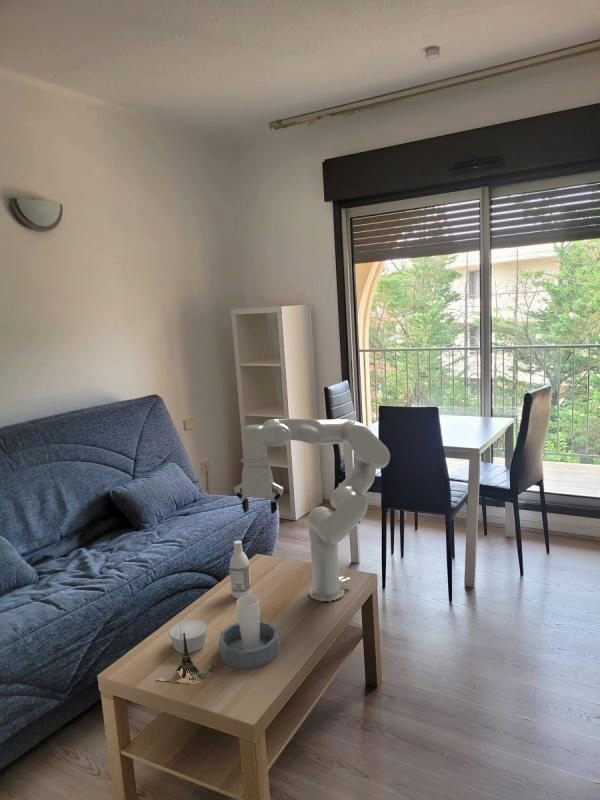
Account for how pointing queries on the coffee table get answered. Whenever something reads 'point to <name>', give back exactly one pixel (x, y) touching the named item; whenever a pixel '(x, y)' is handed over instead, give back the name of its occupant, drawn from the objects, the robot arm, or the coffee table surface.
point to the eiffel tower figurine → (191, 665)
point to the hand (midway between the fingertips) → (260, 511)
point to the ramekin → (188, 635)
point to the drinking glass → (249, 621)
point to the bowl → (249, 658)
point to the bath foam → (240, 572)
